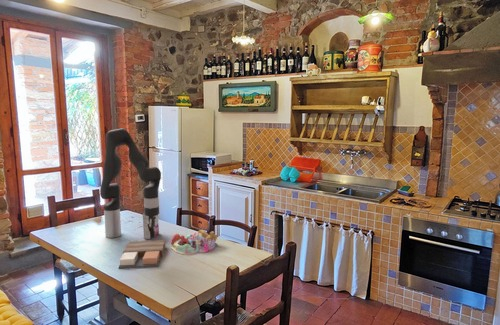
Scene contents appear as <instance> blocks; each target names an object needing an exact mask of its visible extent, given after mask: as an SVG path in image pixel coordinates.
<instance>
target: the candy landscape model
mask: <svg viewBox="0 0 500 325" xmlns="http://www.w3.org/2000/svg"><path fill="white" fill-rule="evenodd" d="M217 240H218V234H215V231H213V230H212V231H210V232H209V233H207V232H206V231H205V230H203V229H199V230H198V231H197V232H196V231H195V232H193V233H191V234H188V235H187V236H186V237H185V235H183V234H182V235H180V234H179V233H175V234H173V236H172V238H171V242H170V243H171V250H172V251H173V252H175V253H176V254H180V255H187V256H191V255H195V254H197V253H208V252H210V251H213V250H214V249H215V248H216V247H217V246H218V243H217V242H216V241H217ZM214 251H215V250H214Z"/></svg>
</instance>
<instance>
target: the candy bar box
mask: <svg viewBox="0 0 500 325" xmlns="http://www.w3.org/2000/svg"><path fill="white" fill-rule="evenodd" d="M155 217H156V228H155V237H156V236H157V235H159V234H160V231H159V229H160V227H159V226H160V224H159V214H158V215H156V216H155ZM148 218H149V216H146V215H145V214H144V212H143V213H142V225H143V227H142V228H143V239H144V240H152V239H153V238H150V231H149V229H148Z"/></svg>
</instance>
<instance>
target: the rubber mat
mask: <svg viewBox="0 0 500 325" xmlns="http://www.w3.org/2000/svg"><path fill="white" fill-rule="evenodd" d="M161 259H162V258H161V256H160V257H159V260H158V262H157V264H143V257H138V258H137V260H136V262H135V264H134V265H120V264H119V266H118V269H120V270H121V269H134V268H135V269H136V268H138V269H139V268H154V267H157V268H158V267H159V265H160V262H161Z"/></svg>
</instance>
